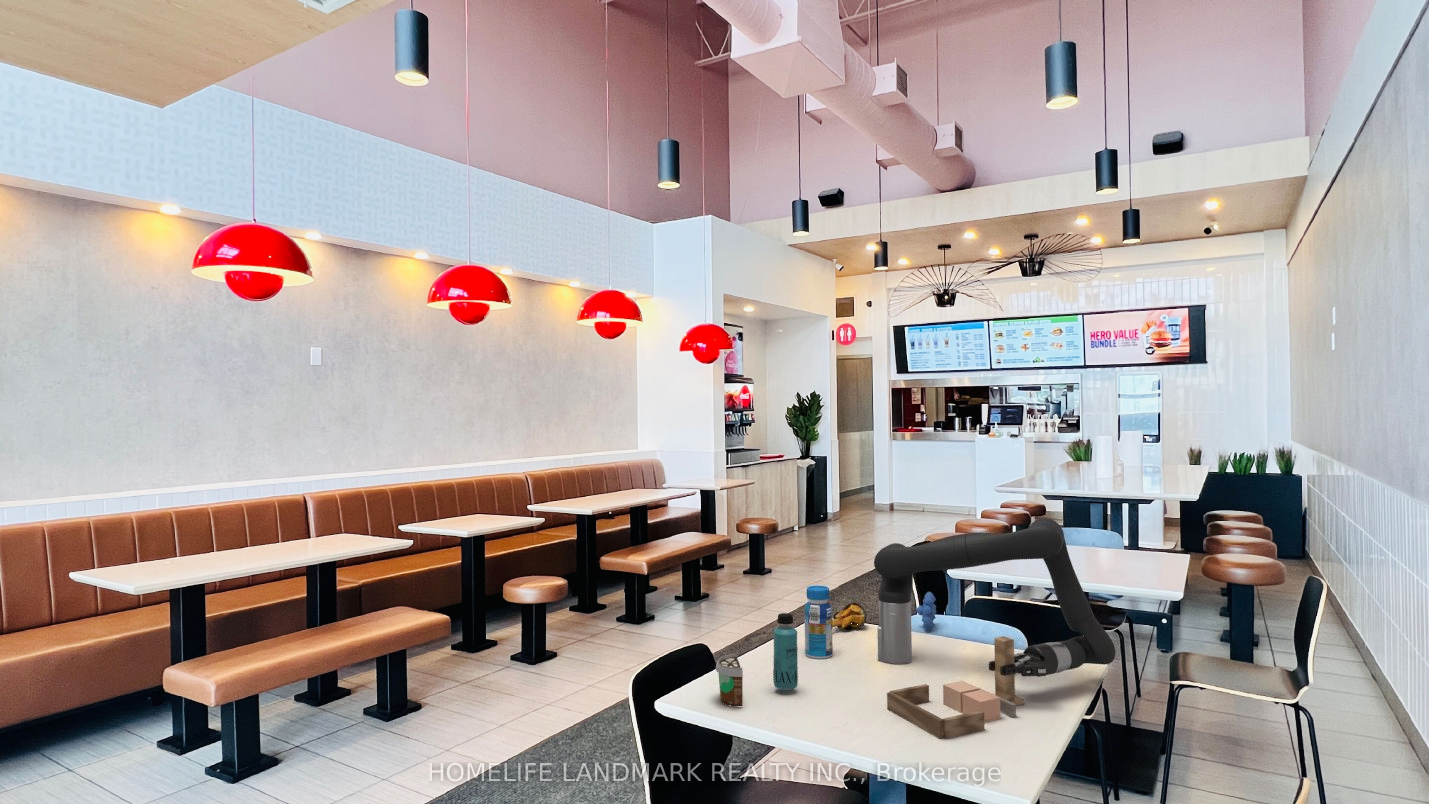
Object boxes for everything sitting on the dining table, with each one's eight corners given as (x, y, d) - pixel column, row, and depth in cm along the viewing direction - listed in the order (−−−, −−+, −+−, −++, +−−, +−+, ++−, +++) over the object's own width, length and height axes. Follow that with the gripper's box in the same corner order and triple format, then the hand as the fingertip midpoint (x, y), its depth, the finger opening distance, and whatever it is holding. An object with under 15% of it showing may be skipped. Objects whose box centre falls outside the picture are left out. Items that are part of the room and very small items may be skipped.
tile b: (962, 700, 198) (961, 680, 198) (979, 708, 193) (979, 688, 193) (943, 704, 196) (943, 684, 196) (960, 713, 190) (960, 692, 190)
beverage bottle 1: (768, 691, 206) (767, 614, 206) (784, 684, 211) (782, 609, 211) (788, 697, 202) (787, 618, 202) (803, 690, 206) (802, 613, 207)
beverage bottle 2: (799, 653, 238) (798, 586, 238) (823, 649, 241) (822, 583, 242) (814, 661, 230) (813, 592, 230) (838, 656, 234) (837, 588, 234)
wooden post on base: (995, 691, 204) (994, 628, 204) (1041, 711, 190) (1040, 644, 190) (967, 697, 200) (966, 633, 200) (1012, 717, 187) (1011, 649, 187)
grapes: (919, 623, 268) (918, 587, 268) (939, 625, 265) (939, 589, 265) (912, 632, 258) (912, 595, 258) (933, 634, 255) (933, 597, 255)
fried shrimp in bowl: (877, 613, 264) (853, 606, 251) (862, 642, 264) (836, 637, 251) (856, 598, 270) (831, 591, 257) (840, 627, 270) (815, 621, 257)
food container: (714, 692, 206) (713, 653, 206) (737, 691, 207) (737, 652, 207) (718, 710, 194) (717, 669, 194) (743, 709, 194) (742, 668, 194)
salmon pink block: (982, 710, 192) (981, 689, 192) (1000, 718, 187) (1000, 697, 187) (962, 714, 190) (962, 693, 190) (980, 723, 184) (980, 701, 184)
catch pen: (926, 700, 199) (925, 684, 199) (984, 729, 180) (984, 712, 180) (885, 708, 194) (885, 691, 194) (941, 739, 175) (941, 721, 175)
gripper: (1070, 682, 195) (1017, 693, 188) (1026, 665, 208) (975, 675, 201) (1069, 651, 195) (1016, 661, 188) (1025, 636, 208) (974, 645, 201)
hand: (995, 668), depth 194 cm, fingers closed on wooden post on base, 3 cm apart
